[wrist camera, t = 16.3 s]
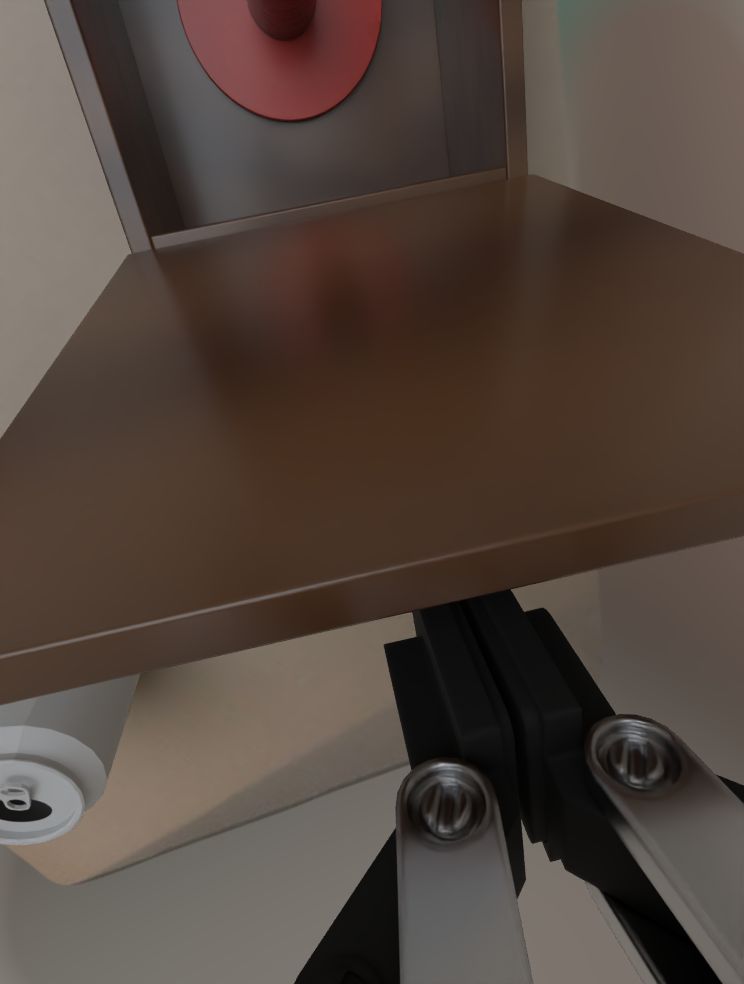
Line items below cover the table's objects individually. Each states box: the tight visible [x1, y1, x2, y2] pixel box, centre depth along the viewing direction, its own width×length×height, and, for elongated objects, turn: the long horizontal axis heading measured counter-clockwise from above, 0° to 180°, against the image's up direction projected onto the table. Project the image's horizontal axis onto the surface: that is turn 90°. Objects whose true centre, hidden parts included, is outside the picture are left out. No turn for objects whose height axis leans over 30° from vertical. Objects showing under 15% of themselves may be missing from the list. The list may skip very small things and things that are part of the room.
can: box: [0, 674, 140, 845], centre depth 32 cm, size 8×8×12 cm
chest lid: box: [0, 175, 744, 706], centre depth 13 cm, size 17×15×1 cm
